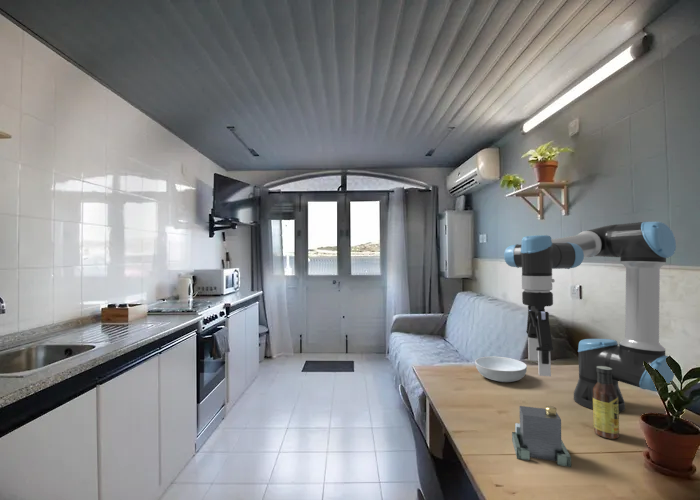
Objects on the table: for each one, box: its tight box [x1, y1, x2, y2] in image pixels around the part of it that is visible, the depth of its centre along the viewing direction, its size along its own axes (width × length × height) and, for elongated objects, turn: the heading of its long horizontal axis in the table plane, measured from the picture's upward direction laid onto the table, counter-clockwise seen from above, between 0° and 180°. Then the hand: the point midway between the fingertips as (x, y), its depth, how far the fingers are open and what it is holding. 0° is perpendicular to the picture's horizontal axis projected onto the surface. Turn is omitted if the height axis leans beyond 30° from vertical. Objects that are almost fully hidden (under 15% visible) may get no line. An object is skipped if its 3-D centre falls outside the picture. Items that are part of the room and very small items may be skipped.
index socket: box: [511, 431, 572, 468], centre depth 95 cm, size 12×10×2 cm
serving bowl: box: [474, 355, 528, 383], centre depth 153 cm, size 21×21×7 cm
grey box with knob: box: [519, 405, 562, 462], centre depth 95 cm, size 9×6×13 cm, turn 72°
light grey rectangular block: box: [514, 422, 520, 433], centre depth 101 cm, size 7×2×4 cm, turn 72°
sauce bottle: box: [592, 366, 620, 440], centre depth 105 cm, size 6×6×20 cm
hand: (538, 367), depth 97 cm, fingers open, 13 cm apart
